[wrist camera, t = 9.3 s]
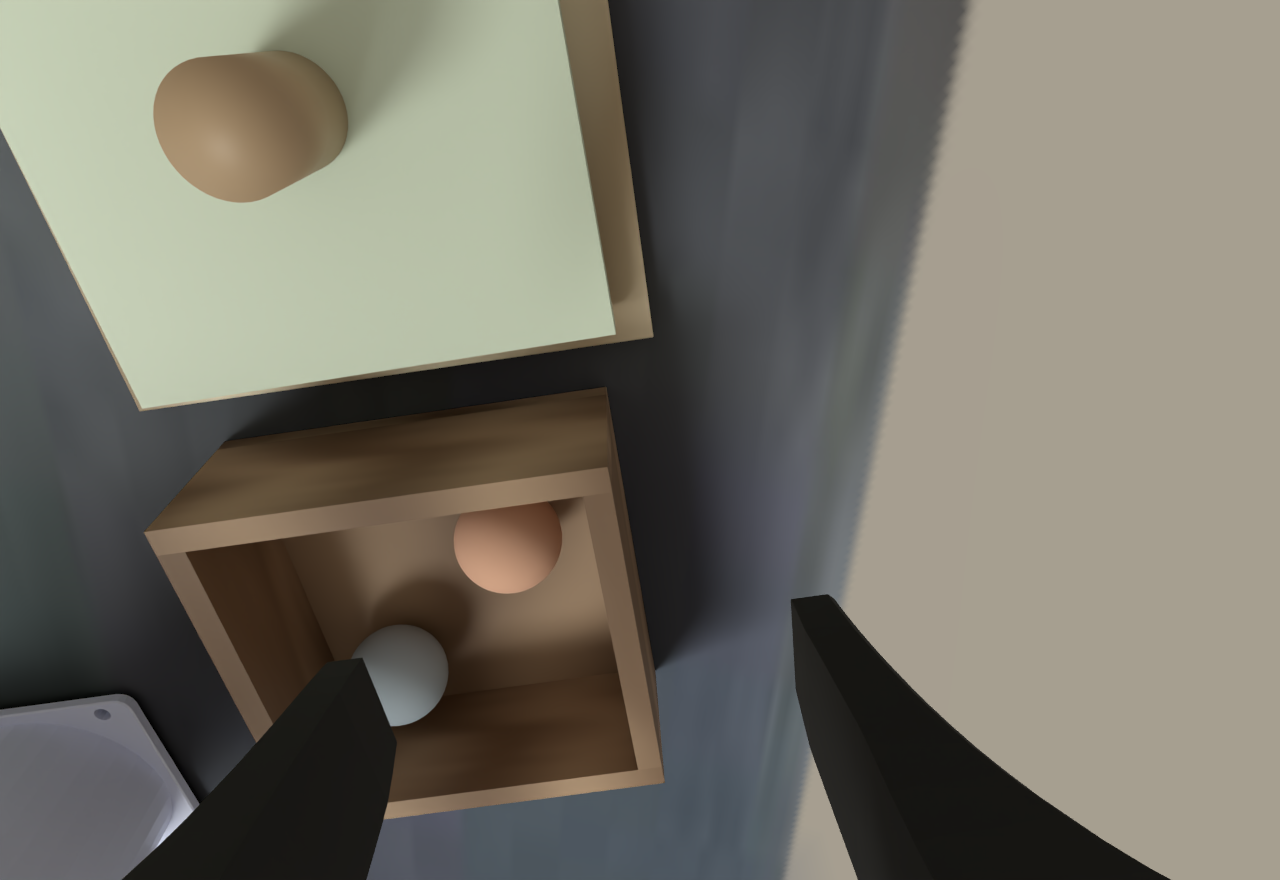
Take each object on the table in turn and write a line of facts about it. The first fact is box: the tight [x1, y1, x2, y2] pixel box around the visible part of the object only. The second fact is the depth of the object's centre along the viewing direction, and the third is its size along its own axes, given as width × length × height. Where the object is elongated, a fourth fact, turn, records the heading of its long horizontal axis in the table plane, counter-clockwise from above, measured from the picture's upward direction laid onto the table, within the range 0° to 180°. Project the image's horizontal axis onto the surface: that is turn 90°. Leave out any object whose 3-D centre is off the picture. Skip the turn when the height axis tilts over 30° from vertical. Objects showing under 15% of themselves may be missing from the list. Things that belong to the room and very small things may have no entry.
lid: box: [0, 0, 616, 409], centre depth 16 cm, size 12×12×5 cm
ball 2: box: [454, 501, 562, 594], centre depth 22 cm, size 3×3×3 cm
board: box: [0, 0, 653, 411], centre depth 18 cm, size 14×14×1 cm
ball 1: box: [351, 625, 449, 726], centre depth 24 cm, size 3×3×3 cm
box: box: [144, 387, 665, 819], centre depth 23 cm, size 11×11×4 cm
